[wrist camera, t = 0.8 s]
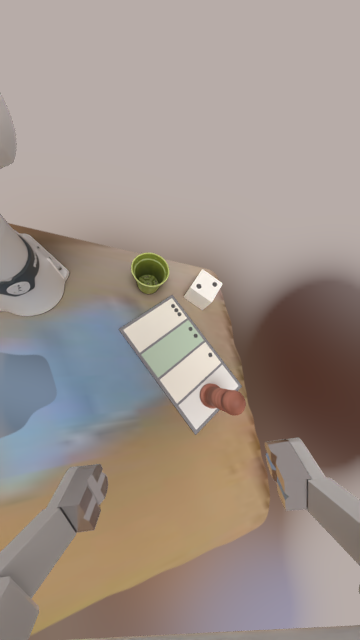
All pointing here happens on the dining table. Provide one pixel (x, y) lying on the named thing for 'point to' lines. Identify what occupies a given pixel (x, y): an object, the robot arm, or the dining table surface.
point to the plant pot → (149, 271)
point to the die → (203, 290)
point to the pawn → (222, 399)
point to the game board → (178, 359)
